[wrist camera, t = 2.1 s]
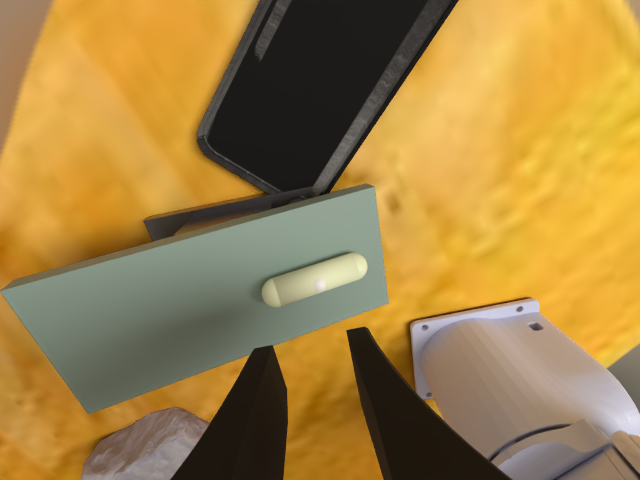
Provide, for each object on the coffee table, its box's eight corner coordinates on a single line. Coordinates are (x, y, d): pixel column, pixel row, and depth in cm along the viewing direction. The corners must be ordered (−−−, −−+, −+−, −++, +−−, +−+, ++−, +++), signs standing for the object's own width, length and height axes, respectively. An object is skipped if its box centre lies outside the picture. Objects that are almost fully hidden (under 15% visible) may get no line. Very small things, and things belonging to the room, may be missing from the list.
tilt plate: (358, 180, 17) (389, 192, 14) (374, 287, 20) (402, 317, 16) (27, 270, 13) (-29, 312, 10) (101, 384, 16) (75, 443, 13)
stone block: (188, 377, 26) (84, 442, 26) (179, 427, 22) (53, 506, 21) (262, 448, 31) (176, 505, 31) (267, 500, 27) (166, 567, 26)
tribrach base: (311, 183, 18) (314, 197, 15) (332, 281, 21) (337, 309, 18) (149, 216, 18) (121, 236, 16) (190, 310, 21) (173, 342, 18)
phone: (487, -44, 14) (311, 219, 18) (474, -33, 15) (310, 213, 20) (348, -191, 12) (187, 145, 16) (345, -167, 13) (194, 143, 17)
